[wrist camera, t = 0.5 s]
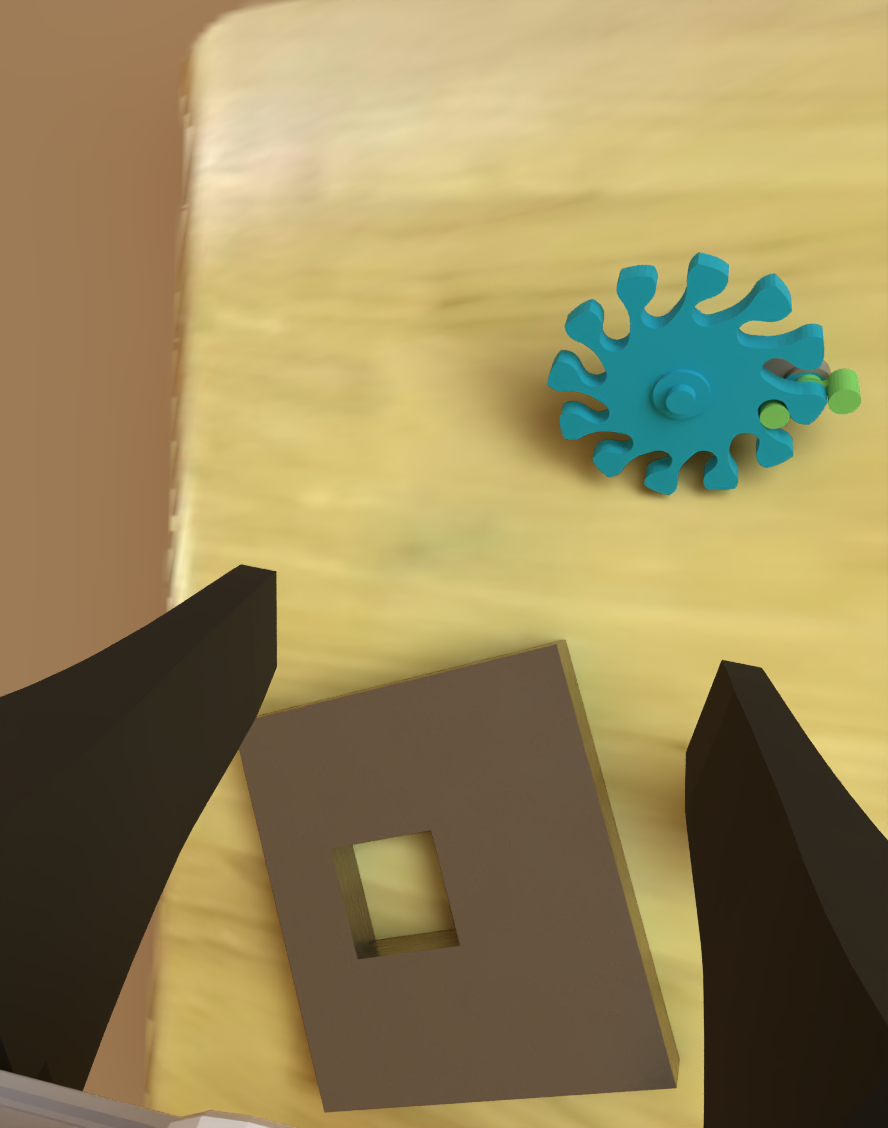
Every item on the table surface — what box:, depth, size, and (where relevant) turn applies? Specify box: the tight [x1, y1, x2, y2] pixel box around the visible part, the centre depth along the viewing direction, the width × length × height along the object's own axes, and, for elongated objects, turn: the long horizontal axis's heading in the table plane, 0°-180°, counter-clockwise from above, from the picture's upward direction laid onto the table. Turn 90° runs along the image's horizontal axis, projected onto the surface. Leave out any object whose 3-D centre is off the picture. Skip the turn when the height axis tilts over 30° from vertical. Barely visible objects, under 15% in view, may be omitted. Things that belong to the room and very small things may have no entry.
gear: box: [547, 252, 861, 495], centre depth 32 cm, size 11×6×10 cm
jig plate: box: [239, 640, 680, 1112], centre depth 37 cm, size 18×16×2 cm
